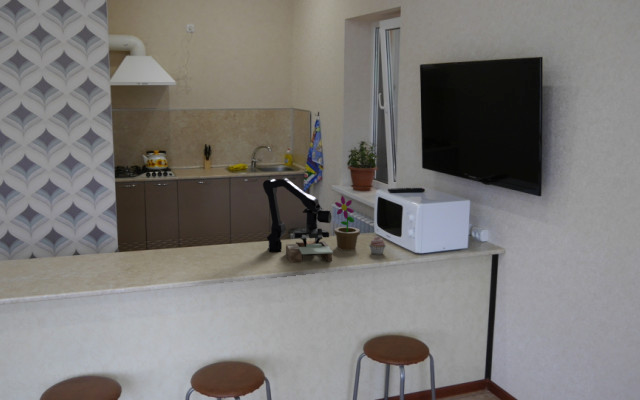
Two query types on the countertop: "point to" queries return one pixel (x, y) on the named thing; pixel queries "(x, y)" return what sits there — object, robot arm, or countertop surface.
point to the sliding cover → (315, 249)
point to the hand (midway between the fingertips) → (310, 249)
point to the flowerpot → (346, 228)
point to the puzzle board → (296, 255)
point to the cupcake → (377, 246)
